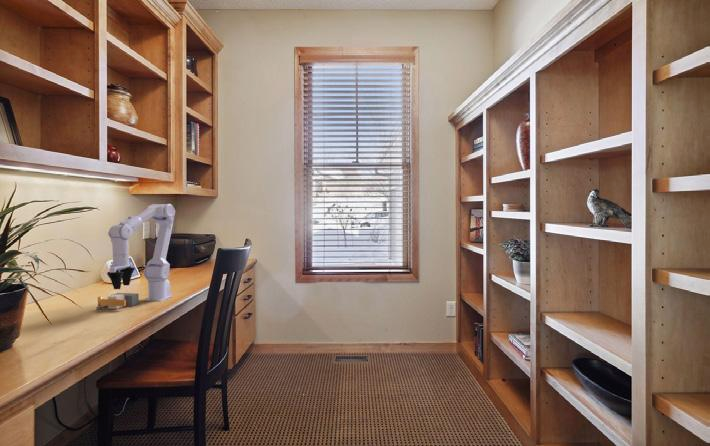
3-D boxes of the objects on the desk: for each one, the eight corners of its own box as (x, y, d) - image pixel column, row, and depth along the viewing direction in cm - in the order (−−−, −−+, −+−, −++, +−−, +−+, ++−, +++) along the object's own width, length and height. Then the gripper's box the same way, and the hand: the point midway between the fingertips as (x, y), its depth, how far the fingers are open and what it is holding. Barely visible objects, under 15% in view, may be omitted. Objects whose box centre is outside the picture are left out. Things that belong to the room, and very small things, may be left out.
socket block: (116, 303, 173) (115, 292, 173) (138, 304, 172) (138, 293, 171) (96, 309, 162) (96, 298, 162) (120, 310, 161) (120, 299, 160)
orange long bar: (97, 306, 162) (96, 297, 162) (99, 305, 164) (99, 296, 163) (124, 307, 161) (123, 298, 160) (126, 306, 162) (126, 297, 162)
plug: (119, 304, 170) (119, 292, 170) (129, 304, 170) (128, 292, 169) (107, 308, 163) (107, 296, 163) (117, 308, 163) (116, 296, 162)
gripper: (119, 252, 168) (120, 283, 169) (100, 256, 153) (102, 291, 154) (136, 251, 169) (137, 283, 169) (119, 256, 154) (120, 290, 155)
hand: (121, 287), depth 162 cm, fingers open, 7 cm apart
